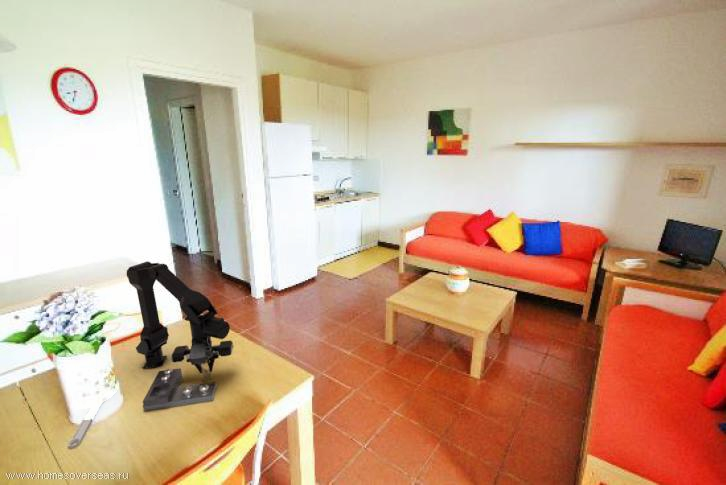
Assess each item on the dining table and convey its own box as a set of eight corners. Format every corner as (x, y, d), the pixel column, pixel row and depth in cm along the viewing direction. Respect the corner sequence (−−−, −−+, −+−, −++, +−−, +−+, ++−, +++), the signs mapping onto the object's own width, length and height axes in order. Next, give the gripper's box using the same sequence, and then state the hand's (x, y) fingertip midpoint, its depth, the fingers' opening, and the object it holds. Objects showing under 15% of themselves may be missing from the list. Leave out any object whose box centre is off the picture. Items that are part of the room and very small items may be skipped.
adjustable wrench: (79, 449, 94) (77, 444, 93) (51, 454, 92) (49, 448, 92) (118, 388, 117) (117, 383, 117) (97, 391, 116) (96, 386, 115)
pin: (202, 375, 123) (199, 353, 120) (214, 373, 124) (211, 351, 121) (199, 382, 119) (196, 360, 117) (212, 380, 120) (209, 358, 118)
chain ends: (159, 381, 120) (157, 369, 119) (220, 373, 124) (218, 361, 123) (143, 412, 106) (140, 399, 105) (212, 401, 110) (210, 389, 109)
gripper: (162, 349, 107) (170, 391, 111) (226, 341, 111) (231, 382, 115) (173, 331, 117) (179, 370, 122) (231, 324, 121) (235, 363, 126)
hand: (206, 372), depth 121 cm, fingers closed on pin, 3 cm apart
